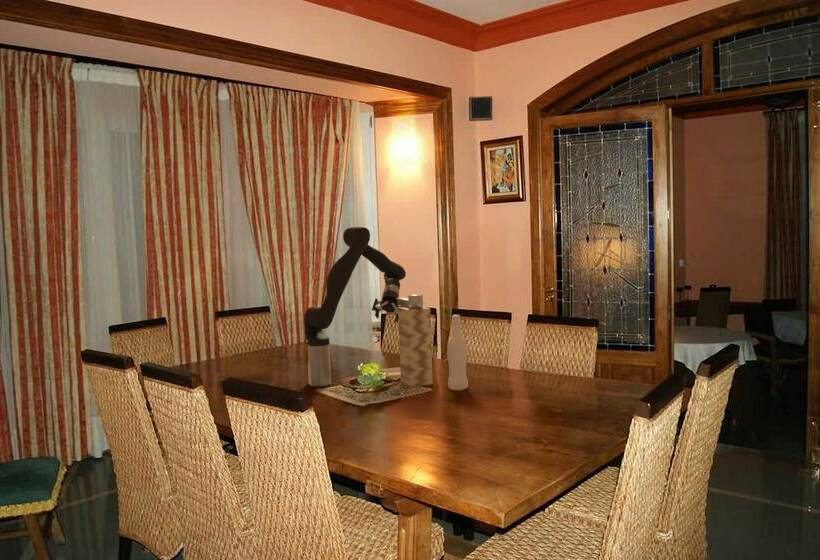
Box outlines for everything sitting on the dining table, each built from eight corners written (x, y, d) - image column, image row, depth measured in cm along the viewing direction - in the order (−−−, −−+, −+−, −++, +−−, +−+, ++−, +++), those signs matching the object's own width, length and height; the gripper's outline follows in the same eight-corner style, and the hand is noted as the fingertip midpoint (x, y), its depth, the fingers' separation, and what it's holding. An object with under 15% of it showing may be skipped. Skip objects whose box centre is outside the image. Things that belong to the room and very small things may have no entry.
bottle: (461, 391, 256) (459, 316, 254) (444, 389, 261) (442, 315, 259) (471, 387, 262) (469, 314, 260) (455, 385, 267) (453, 313, 265)
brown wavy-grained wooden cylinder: (410, 386, 267) (407, 310, 264) (400, 381, 277) (398, 307, 275) (432, 384, 270) (430, 308, 268) (422, 378, 281) (419, 305, 278)
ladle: (411, 309, 266) (411, 296, 265) (393, 305, 285) (393, 292, 285) (425, 308, 268) (424, 295, 267) (406, 304, 287) (406, 291, 287)
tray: (387, 381, 278) (387, 375, 278) (376, 375, 291) (376, 369, 290) (417, 377, 283) (417, 372, 283) (405, 371, 296) (405, 366, 296)
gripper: (377, 286, 296) (372, 308, 283) (407, 293, 297) (403, 316, 284) (374, 298, 301) (369, 321, 288) (403, 305, 302) (400, 328, 289)
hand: (386, 318), depth 286 cm, fingers open, 8 cm apart
